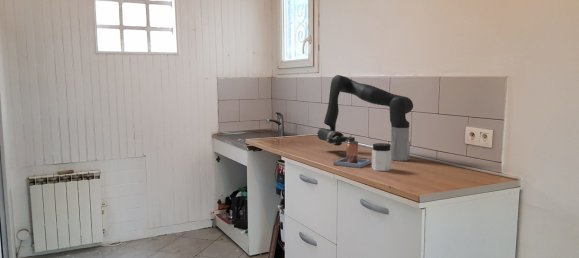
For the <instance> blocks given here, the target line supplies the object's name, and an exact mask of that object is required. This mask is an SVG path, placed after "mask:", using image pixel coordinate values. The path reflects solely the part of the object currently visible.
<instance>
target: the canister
mask: <svg viewBox="0 0 579 258" xmlns="http://www.w3.org/2000/svg"><path fill="white" fill-rule="evenodd" d="M345 142H346V141H345ZM345 144H346V157H347V159H346V162H347V163H356V164H358V159H359V141H356V140H355V141H347V142H346V143H345Z"/></svg>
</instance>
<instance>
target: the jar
mask: <svg viewBox="0 0 579 258" xmlns="http://www.w3.org/2000/svg"><path fill="white" fill-rule="evenodd" d="M371 170H374V171H376V172H388V171H391V170H392V159H391V143H385V142H384V143H382V142H380V143H379V142H378V143H376V142H375V143H373V145H372V149H371Z"/></svg>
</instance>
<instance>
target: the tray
mask: <svg viewBox="0 0 579 258" xmlns="http://www.w3.org/2000/svg"><path fill="white" fill-rule="evenodd" d="M346 159H347V156H346V157H342V158H339V159H337V160H335V161H333V166H338V167H339V166H341V167H347V168H357V169H361V168H363V167H365V166H367V165H370V164H372V159H366V158H358V164H356V163H347V162H346Z"/></svg>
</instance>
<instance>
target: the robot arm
mask: <svg viewBox="0 0 579 258" xmlns="http://www.w3.org/2000/svg"><path fill="white" fill-rule="evenodd" d="M341 93H346V94H350V95H354V96H355V97H357V98H358V99H360V100H362V101H364V102H366V103H368V104H369V103H370V104H372V105H378V106H385V107H389V122H390V124H391V130H390V145H391V148H390V150H391V161H400V162H402V161H403V162H406V161H407V162H408V161H409V160H410V158H411V156H410V155H411V141H410V121H408V120H407V117H406V115H407V114H408V113H410V112H412V110H413V108H414V103H413V101H412V99H411V98H410V97H407V96H403V95H399V94H394V93H391V92H389V91H387V90H384V89H381V88H379V87H376V86H374V85H370V84H366V83H360V82H357V81H355V80H353V79H350V78H349V77H347V76H343V75H341V74H336V75H334V77H332V78H331V81H330V87H329V98H328V104H327V109H326V113H325V116H324V121H323V123H324V124H325V125H326V126H328V127H329V129H328V128H324V127H323V128H320V129H319V128H318V131H317V133H316V134H317V135H316V136H317V138H318V139H319V140H321V141H325V142H326V143H328V144H331V145H334V146H342V145H343V144H347V143H346V142H347V141H356V139H355V137H353V136H344V134H343V133H342V132H339V131H336V125H337V120H338V117H339V113H340V111H339V95H340V94H341Z"/></svg>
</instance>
